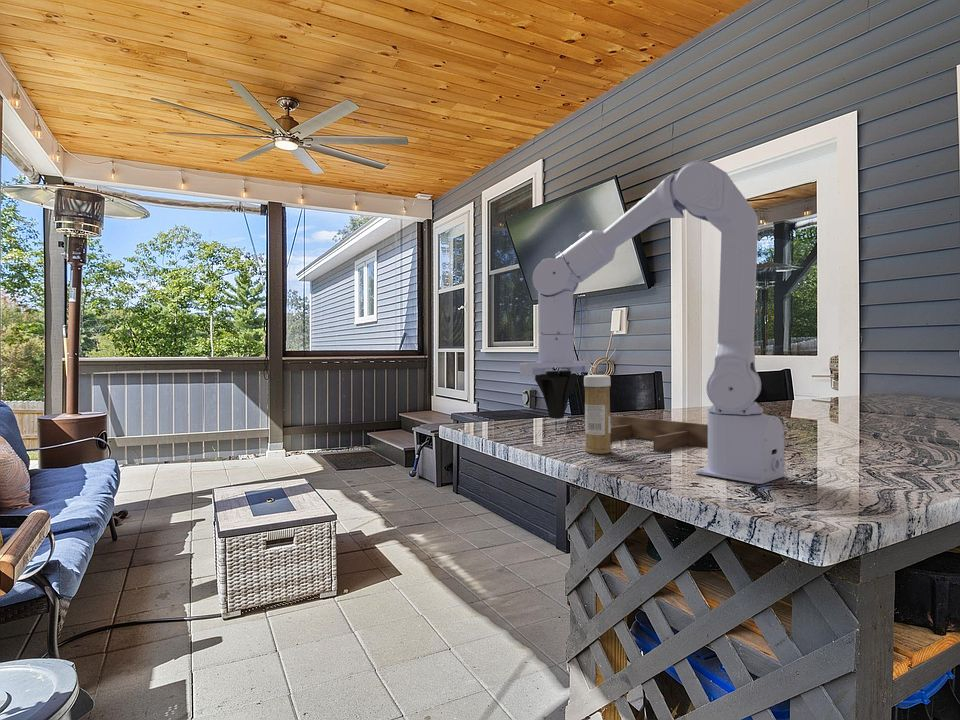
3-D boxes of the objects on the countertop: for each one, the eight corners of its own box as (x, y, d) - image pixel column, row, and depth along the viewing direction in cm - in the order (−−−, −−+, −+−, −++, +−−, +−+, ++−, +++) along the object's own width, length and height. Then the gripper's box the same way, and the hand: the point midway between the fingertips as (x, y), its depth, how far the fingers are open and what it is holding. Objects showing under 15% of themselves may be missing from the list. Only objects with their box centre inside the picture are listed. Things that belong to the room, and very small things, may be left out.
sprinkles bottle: (616, 451, 102) (615, 374, 102) (601, 455, 99) (600, 376, 99) (594, 448, 105) (593, 374, 105) (579, 452, 102) (578, 375, 102)
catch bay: (712, 447, 106) (712, 424, 106) (678, 454, 99) (678, 430, 99) (614, 434, 123) (614, 415, 123) (579, 439, 116) (579, 419, 116)
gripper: (567, 335, 103) (568, 412, 104) (506, 335, 94) (507, 419, 95) (599, 334, 98) (599, 415, 98) (537, 334, 89) (537, 423, 89)
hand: (556, 417), depth 96 cm, fingers closed
